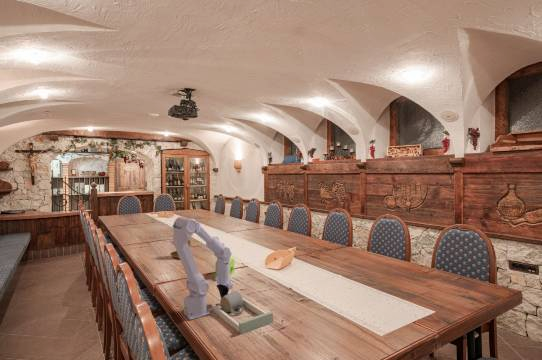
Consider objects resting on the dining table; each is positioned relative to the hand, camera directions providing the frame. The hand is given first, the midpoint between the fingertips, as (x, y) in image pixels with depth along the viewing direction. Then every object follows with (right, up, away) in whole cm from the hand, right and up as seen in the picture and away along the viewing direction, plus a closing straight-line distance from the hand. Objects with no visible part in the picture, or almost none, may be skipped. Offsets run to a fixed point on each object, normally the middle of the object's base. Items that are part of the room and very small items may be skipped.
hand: (223, 299), depth 149 cm
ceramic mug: (+6, -2, -8) cm, 10 cm away
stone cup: (-44, -1, +84) cm, 95 cm away
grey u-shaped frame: (+9, -2, -13) cm, 16 cm away
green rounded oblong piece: (-5, -1, +41) cm, 42 cm away
